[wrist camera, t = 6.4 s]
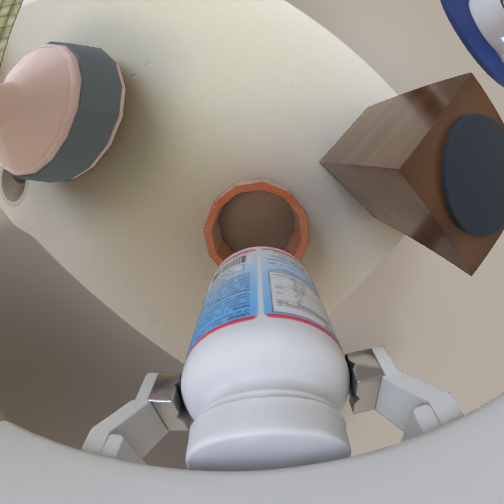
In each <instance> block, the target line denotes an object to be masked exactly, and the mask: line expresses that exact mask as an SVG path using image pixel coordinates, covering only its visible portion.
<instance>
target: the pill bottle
mask: <svg viewBox="0 0 504 504" xmlns="http://www.w3.org/2000/svg"><path fill="white" fill-rule="evenodd" d="M349 387H350V374H349V369H348V365H347V362H346V359H345V356H344V354H343V352H342V349H341V346H340V344H339V341H338V339H337V337H336V335H335V332H334V330H333V327H332V325H331V323H330V321H329V318H328V316H327V314H326V311H325V309H324V307H323V304H322V302H321V300H320V298H319V296H318V293H317V291H316V289H315V287H314V284H313V282H312V280H311V278H310V276H309V274H308V272H307V270H306V269H305V267H304V266H303V265H302V264H301V263H300V261H299V260H297V259H296V258H295V257H294V256H292V255H291V254H289V253H287V252H285V251H283V250H280V249H277V248H272V247H263V246H262V247H251V248H246V249H243V250H240V251H238V252H236V253H234V254H232V255H231V256H229V257H228V258H227V259H226V260H224V261H223V262H222V263H221V264H220V266H219V267H218V268H217V270H216V271H215V273H214V275H213V277H212V279H211V282H210V285H209V288H208V291H207V294H206V297H205V300H204V303H203V306H202V309H201V313H200V316H199V319H198V322H197V325H196V328H195V331H194V335H193V338H192V341H191V344H190V348H189V351H188V354H187V357H186V361H185V364H184V368H183V373H182V376H181V393H182V398H183V401H184V404H185V406H186V409H187V411H188V412H189V414H190V415H191V416H192V418H193V419H194V420H195V421H194V422H193V424H192V425H191V427H190V431H189V442H188V447H187V452H186V465H187V468H188V469H189V470H201V471H253V470H269V469H280V468H290V467H298V466H305V465H311V464H318V463H323V462H329V461H334V460H338V459H343V458H348V457H350V456H351V449H350V444H349V440H348V436H347V432H346V423H345V420H344V418H343V417H342V415H341V414H340V411H341V409H342V408H343V406H344V404H345V402H346V399H347V396H348V393H349Z"/></svg>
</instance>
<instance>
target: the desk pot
mask: <svg viewBox="0 0 504 504" xmlns="http://www.w3.org/2000/svg"><path fill="white" fill-rule="evenodd" d="M256 190H264V191H267V192H270V193H272V194H275V195H277V196H280V197H282V198H285V199H286V201H287V202H288V203H289V205H290V206H291V207H292V209H293V217H294V225H295V228H294V230H293V233H292V235H291V237H290V240H289V242H288V244H287V246H285V247H284V248H283V249H281V250H283V251H285V252H287V253H289V254H291V255H292V256H294V257H295V258H296V259H297V260H299V261H300V260H301V258H302V256H303V254H304V252H305V250H306V247H307V245H308V243H309V241H308V240H309V231H308V221H307V215H306V212H305V211H304V210H303V208H302V207H301V206H300V205H299V203H298V202H297V201H296V199H295V198H294V197H293V195H292V194H291V193H290V192H289V191H288V190H287V189H286V188H285V187H283V186H281V185H279V184H276V183H274V182H271V181H268V180H266V179H263V178H262V180H261V178H258V179H251V180H245V181H239V182H238V183H235V184H234V185H233V186H232V187H230V188H229V189H228V190H227V191H226V192H224V193H223V194H222V195H221V196H220V197H219V198H218V199H217V200H216V201H215V202H214V203H213V205H212V207H211V210H210V213H209V216H208V219H207V221H206V224H205V227H204V229H205V230H204V234H205V239H206V243H207V248H208V253H209V255H210V257H211V258H212V259H213V260H214V261H215V263H216V264H217V265H218V266H220V264H221V263H222V262H223V261H224V260H226V259H227V258H228V257H229V256H231V255H232V254H234V252H233V251H232V250H231V248H230V247H229V246H228V245H227V244H226V243H225V242H224V240H223V239H222V237H221V232H220V227H219V221H218V218H219V215H220V213H221V210H222V207H223V205H224V204H226V203H227V202H228V201H229V200H230V199H232V198H233V197H234V196H235V195H237V194H238V193H244V192H250V191H256Z"/></svg>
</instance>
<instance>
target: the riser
mask: <svg viewBox="0 0 504 504" xmlns="http://www.w3.org/2000/svg"><path fill="white" fill-rule="evenodd" d="M469 114H482V115H486V116H488V117H490V118H491V119H493V120H494V121H495V122H497V123H498V124H499V125H500V127H501V128H502V129H503V130H504V123H503V121H502V120H501V118H500V116H499V114H498V112H497V111H496V109H495V107H494V106H493V104H492V102H491V101H490V99H489V98H488V96H487V94H486V93H485V91H484V90H483V88H482V87H481V85H480V84H479V82H478V81H477V80H476V78H475V77H474V75H473V74H472V73H468V74H464V75H460V76H457V77H453V78H450V79H447V80H443V81H440V82H437V83H434V84H430V85H427V86H424V87H421V88H419V89H416V90H413V91H410V92H407V93H404V94H401V95H399V96H396V97H393V98H390V99H388V100H385V101H383V102H380V103H377V104H375V105H372V106H370V107H368V108H367V109H366V110H365V111H364V112H363V114H362V115H361V116H360V117H359V118H358V119H357V120H356V121H355V122H354V124H353V125H352V126H351V127H350V128H349V129H348V130H347V131H346V132H345V134H344V135H343V136H342V137H341V138H340V139H339V140H338V141H337V143H336V144H335V145H334V146H333V147H332V148H331V149H330V150H329V152H328V153H327V154H326V155H325V156H324V157H323V158H322V159H321V161H320V163H321V164H322V165H323V166H324V167H325V168H326V169H327V170H328V171H329V172H330V173H331V174H332V175H333V176H334V177H335V178H336V179H337V180H339V181H340V182H341V183H342V184H343V185H344V186H345V187H346V188H347V189H348V190H349V191H350V192H351V193H352V194H353V195H354V196H355V197H356V198H357V199H358V201H359V202H360V203H361V204H362V205H363V206H364V207H365V208H366V209H367V210H368V211H369V212H370V213H371V214H372V215H373V216H374V217H376V218H377V219H379V220H381V221H383V222H385V223H386V224H388V225H390V226H392V227H394V228H395V229H397V230H399V231H401V232H402V233H404V234H406V235H408V236H409V237H411V238H412V239H414V240H416V241H418V242H419V243H421V244H422V245H424V246H426V247H427V248H429V249H431V250H432V251H434V252H435V253H437V254H438V255H440V256H442V257H443V258H445V259H446V260H448V261H450V262H451V263H452V264H454V265H456V266H457V267H458V268H460V269H461V270H463V271H464V272H466V273H467V274H469V275H470V276H472V275H473V274H474V272H475V271H476V270H477V268H478V267H479V266H480V264H481V263H482V262H483V260H484V259H485V257H486V256H487V255H488V253H489V251H490V250H491V249H492V247H493V246H494V244H495V243H496V241H497V240H498V238H499V237H500V235H501V233H502V231H503V230H504V225H503V226H502V227H501V228H500V229H499V230H498V231H497V232H495V233H493V234H492V235H489V236H485V237H477V236H473V235H471V234H469V233H467V232H465V231H464V230H462V229H461V228H460V227H459V226H458V225H457V224H456V222H455V221H454V220H453V218H452V216H451V214H450V213H449V210H448V208H447V205H446V202H445V199H444V195H443V190H442V183H441V159H442V152H443V147H444V143H445V140H446V137H447V135H448V133H449V131H450V129H451V128H452V126H453V125H454V124H455V123H456V121H458V120H459V119H460V118H462V117H464V116H466V115H469Z"/></svg>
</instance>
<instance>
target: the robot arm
mask: <svg viewBox="0 0 504 504" xmlns="http://www.w3.org/2000/svg"><path fill="white" fill-rule="evenodd" d="M469 8H470V12H471V15H472V17H473V19H474V21H475V23H476V25H477V27H478V29H479V30H480V32H481V33H482V35H483V36H484V38H485V39H486V40H487V42H488V43H489V44H490V46H491V47H492V48H493V49H494V50H495V51H496V52H497V54H498V55H499V57H500V58H501V60H502V62H503V63H504V0H469ZM345 359H346V362H347V365H348V369H349V374H350V387H349V393H348V394H349V395H350V401H349V402H350V405H351V408H352V411H353V414H356V413H360V412H365V411H369V410H373V409H375V410H376V411H377V412H378V413H380V414H381V415H382V416H383V417H385V418H386V419H387V420H389V421H390V422H391V423H393V424H394V425H395V426H397V427H398V428H399V429H401V430H402V431H404V432H405V433H404V435H403V437H402V440H401V442H400V443H397V444H394V445H391V446H388V447H385V448H382V449H378V450H375V451H371V452H367V453H364V454H360V455H356V456H352V457H348V458H343V459H338V460H334V461H329V462H323V463H318V464H311V465H305V466H298V467H290V468H280V469H269V470H253V471H201V470H185V469H174V468H165V467H157V466H150V465H147V464H146V463H145V462H144V461H143V460H142V458H143V457H144V456H145V455H146V454H147V453H148V452H149V451H150V450H151V449H152V448H153V447H154V446H155V445H156V444H157V443H158V442H159V441H160V439H162V438H163V437H164V435H165V434H166V433H167V432H168V430H180V431H184V430H185V431H188V430H189V426H190V421H191V416H190V415H189V412H188V411H187V409H186V406H185V404H184V401H183V398H182V393H181V376H182V373H148V374H147V375H146V377H145V379H144V381H143V383H142V386H141V388H140V390H139V392H138V395H137V397H136V399H135V400H132V401H130V402H129V403H127V404H126V405H124V406H123V407H122V408H121V409H119V410H117V411H116V412H115V413H113V414H112V415H110V416H109V417H108V418H106V419H105V420H103V421H102V422H100V423H99V424H97V425H96V426H94V427H93V428H92V429H91V430H90V433H89V435H88V437H87V438H86V440H85V443H84V444H83V447H82V449H81V450H79V449H76V448H72V447H69V446H66V445H63V444H60V443H58V442H55V441H52V440H49V439H47V438H44V437H42V436H39V435H37V434H34V433H32V432H29V431H27V430H25V429H23V428H21V427H19V426H16V425H14V424H12V423H11V422H8V421H2V422H0V504H504V392H503V393H502V394H500V395H499V396H497V397H496V398H494V399H492V400H491V401H489V402H487V403H486V404H484V405H482V406H480V407H479V408H477V409H475V410H473V411H471V412H469V413H467V414H466V415H463V413H462V411H461V410H460V408H459V406H458V405H457V403H456V402H455V400H454V399H453V397H452V395H451V394H450V393H449V392H446V391H444V390H442V389H440V388H438V387H435V386H433V385H431V384H429V383H427V382H425V381H423V380H420V379H418V378H416V377H414V376H412V375H409V374H408V373H406V372H404V371H401V372H399V371H398V369H397V367H396V366H395V364H394V362H393V360H392V359H391V357H390V355H389V354H388V352H387V350H386V349H385V347H384V346H383V345H381V346H377V347H373V348H370V349H366V350H362V351H357V352H353V353H348V354H345Z"/></svg>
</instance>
